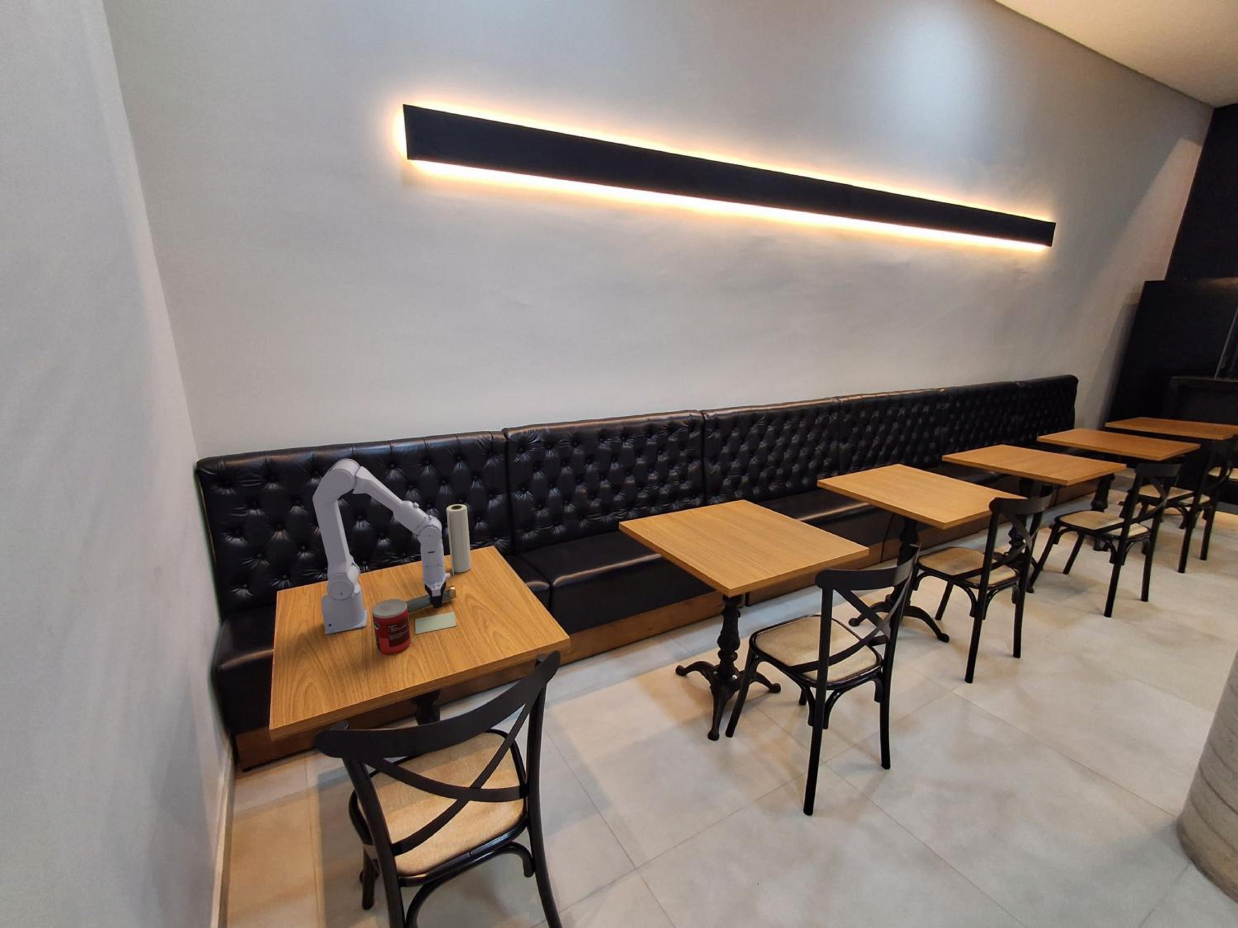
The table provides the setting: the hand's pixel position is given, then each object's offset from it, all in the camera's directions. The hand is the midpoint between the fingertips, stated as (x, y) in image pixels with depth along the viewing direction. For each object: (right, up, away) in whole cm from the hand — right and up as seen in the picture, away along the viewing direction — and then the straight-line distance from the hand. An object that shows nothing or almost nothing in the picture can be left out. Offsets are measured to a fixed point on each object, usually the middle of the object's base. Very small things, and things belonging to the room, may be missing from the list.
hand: (437, 606), depth 141 cm
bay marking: (+2, -3, -6) cm, 7 cm away
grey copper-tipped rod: (-4, 0, 0) cm, 4 cm away
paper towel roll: (-1, +5, +23) cm, 23 cm away
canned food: (-5, -6, -15) cm, 17 cm away
